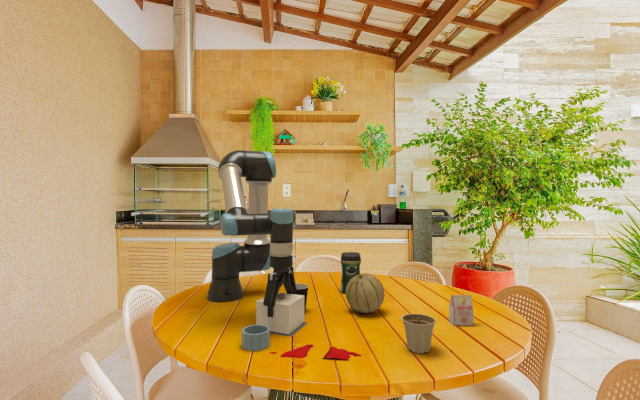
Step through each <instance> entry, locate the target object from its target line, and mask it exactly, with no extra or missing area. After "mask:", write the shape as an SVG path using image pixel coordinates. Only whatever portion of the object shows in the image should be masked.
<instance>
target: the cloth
mask: <svg viewBox="0 0 640 400" xmlns="http://www.w3.org/2000/svg"><path fill="white" fill-rule="evenodd" d="M314 346H315V345H313V344H310V343H309V344H305V345H303V346H301V347H299V346H298V347H297V348H295V349H294V348H293V349H292V350H288V351H285V352H284V353H281V354H280V358H290V359H291V358H292V359H295V358H296V359H304V358H306V357H308V353H309V351H310V350H311V349H312V348H314ZM338 348H339V347H335V346H331V347H328V351H327V352H326V353H325V354H324V356H323V357H322V359H333V360H343V361H344V360H345V361H348V359H349V358H350V357H352V356H349V355H353V356H354V357H362V354H359V353H357V352H353V351H349V350H346V349H344V348H339V349H338ZM348 351H349V352H348ZM277 353H278V352H277V351H270V352H269V354H274V355H275V354H277Z"/></svg>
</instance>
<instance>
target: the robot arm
mask: <svg viewBox="0 0 640 400" xmlns="http://www.w3.org/2000/svg"><path fill="white" fill-rule="evenodd" d="M217 173H218V177H219V179H220V181H221V184H222V191H223V192H222V193H223V202H224V207H225V209H224V211H225V213H223V214H221V219H220V220H221V221H220V227H221V229H220V231H221V234H222V235H223V236H230V237H231V236H232V237H236V236H237V237H238V236H247V238H246V239H245V240H244V242H243V245H241V244H240V243H239V242H229V243H222V244H218V245H215V246H214V247H213V248H212V249H211V250H212V251H211V281H210V284H209V288H208V291H207V293H206V294H207V297H206V298H207V300H209V301H211V302H217V303H218V302H220V303H222V302H231V301H235V300H239V299H242V298H243V297H244V290H243V287H242V284H241V280H240V273H245V272H262V271H268V270H270V269H271V268H272V269H273V270H272V271H273V272H272V273H268V274H267V283H266V287H265V293H264V296H263V297H264V302H263V305H264V306H267V326H269V327H276V306H275V302H276V299H277V296H278V292H279V293H280V288H281V287H282V286H283V287H284V290H285V293H286V292H287V294H296V291H297V288H296V284H297V283H296V280H295V279H296V278H295V274H294V266H293V263H294V262H293V259H294V257H293V255H292V254H293V253H294V252H293V249H294V245H293V244H294V243H293V242H294V240H293V239H294V237H293V236H294V213H293V210H292V209H291V208H271V210H270V212H269V213H268V207H269V206H268V203H269V201H268V200H269V186H270V184H271V183H272V182H273V179H275V178H276V176H277V164H276V159H275V156H274V155H273V153H272V152H270V151H263V150H261V151H260V150H259V151H258V150H257V151H256V150H242V149H237V150H233V151H229V153H226V155H225V156H224V157H222V159H221V160H220V162H219V164H218V167H217ZM242 178H245V183H246V184H247V185H248V209H247V203H246V197H245V192H244V187H243V181H242ZM268 235H269V236H270V237H269V238H270V239H268Z"/></svg>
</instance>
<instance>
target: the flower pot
mask: <svg viewBox="0 0 640 400" xmlns="http://www.w3.org/2000/svg"><path fill="white" fill-rule="evenodd" d="M401 320H402V321H403V325H404V330H405V331H404V332H405V338H406V345H407V349H408V350H410V351H411V352H413V353H416V354H425V353H429V352H430V351H431V344H432V338H433V332H434V331H433V330H434V327H435V324H436V323H437V321H436V318H434V317H432V316H430V315H428V314H422V313H408V314H404V315H402V316H401Z"/></svg>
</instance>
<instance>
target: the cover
mask: <svg viewBox="0 0 640 400" xmlns="http://www.w3.org/2000/svg"><path fill="white" fill-rule="evenodd" d="M264 297H265V296H263V297H262V298H259V299H258V300H256V302H255V305H256V307H255V311H256V312H255V313H256V314H255V320H256V321H255V325H258V324H261V325H266V326H267V306H264V305H263V302H264ZM304 297H305V296H304V295H296V294H287V293H286V292H280V291H279V292H278V296H277V299H276V302H275V306H276V327H270V331H271V332H277V333H283V334H290V333H291V332H293V331H294V330H295V329H296V328H297V327H299V326H300V325H301V324H302V323H303V322H305V313H304ZM268 327H269V326H268Z"/></svg>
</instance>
